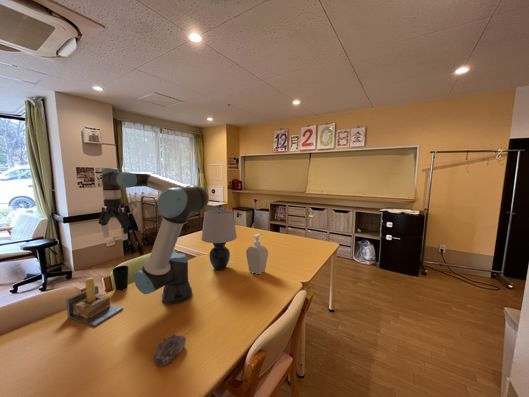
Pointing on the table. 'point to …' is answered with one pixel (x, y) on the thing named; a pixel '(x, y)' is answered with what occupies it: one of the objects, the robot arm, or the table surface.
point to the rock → (168, 349)
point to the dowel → (90, 290)
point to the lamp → (219, 236)
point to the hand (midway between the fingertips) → (115, 238)
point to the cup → (120, 277)
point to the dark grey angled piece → (94, 319)
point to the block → (91, 306)
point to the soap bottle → (257, 256)
